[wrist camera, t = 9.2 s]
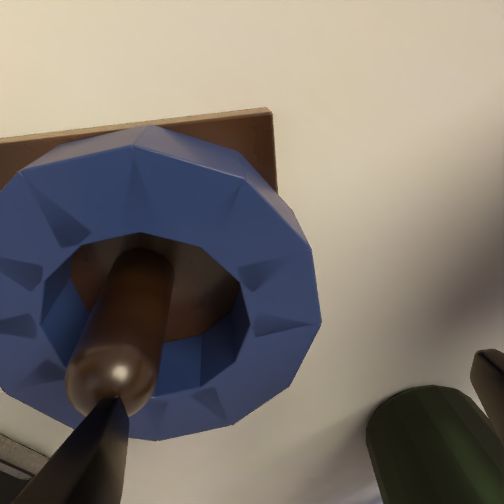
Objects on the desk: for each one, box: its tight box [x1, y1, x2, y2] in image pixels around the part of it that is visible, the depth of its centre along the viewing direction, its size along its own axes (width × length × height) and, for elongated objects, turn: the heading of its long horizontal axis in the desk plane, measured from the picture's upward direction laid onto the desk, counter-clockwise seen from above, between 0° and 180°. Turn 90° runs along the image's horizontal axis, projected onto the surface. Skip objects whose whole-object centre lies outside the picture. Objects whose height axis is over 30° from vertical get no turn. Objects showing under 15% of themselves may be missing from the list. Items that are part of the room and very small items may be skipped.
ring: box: [0, 124, 322, 441], centre depth 14 cm, size 11×11×3 cm
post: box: [0, 107, 278, 417], centre depth 13 cm, size 11×11×8 cm
